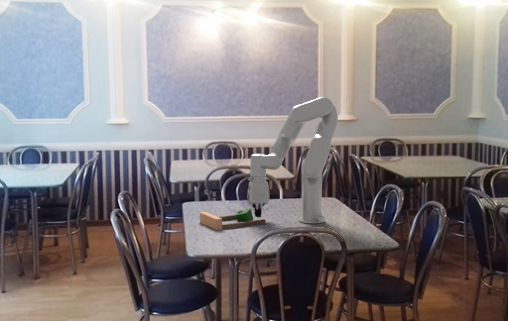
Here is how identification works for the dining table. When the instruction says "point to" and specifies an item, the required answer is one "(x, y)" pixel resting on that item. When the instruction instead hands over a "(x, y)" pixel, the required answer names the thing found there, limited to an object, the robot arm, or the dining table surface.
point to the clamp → (244, 215)
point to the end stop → (211, 220)
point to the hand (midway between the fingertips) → (257, 216)
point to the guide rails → (239, 224)
